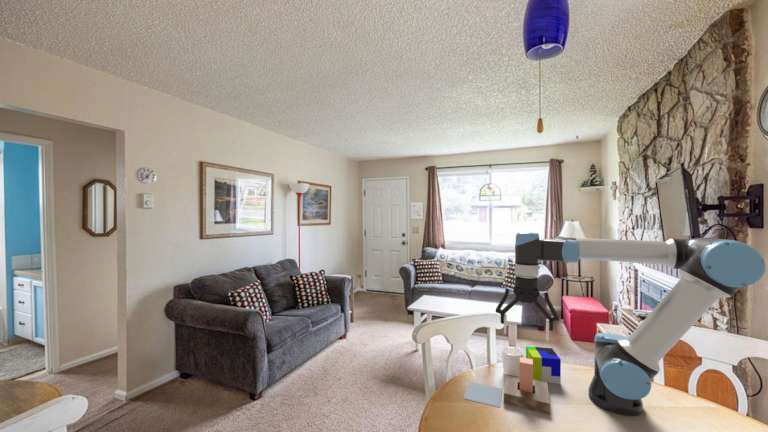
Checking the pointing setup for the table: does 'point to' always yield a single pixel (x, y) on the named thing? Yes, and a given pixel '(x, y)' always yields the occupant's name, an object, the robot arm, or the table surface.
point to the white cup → (511, 361)
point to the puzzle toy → (545, 364)
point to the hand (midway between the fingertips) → (525, 336)
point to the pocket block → (527, 395)
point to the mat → (483, 394)
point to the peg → (526, 375)
